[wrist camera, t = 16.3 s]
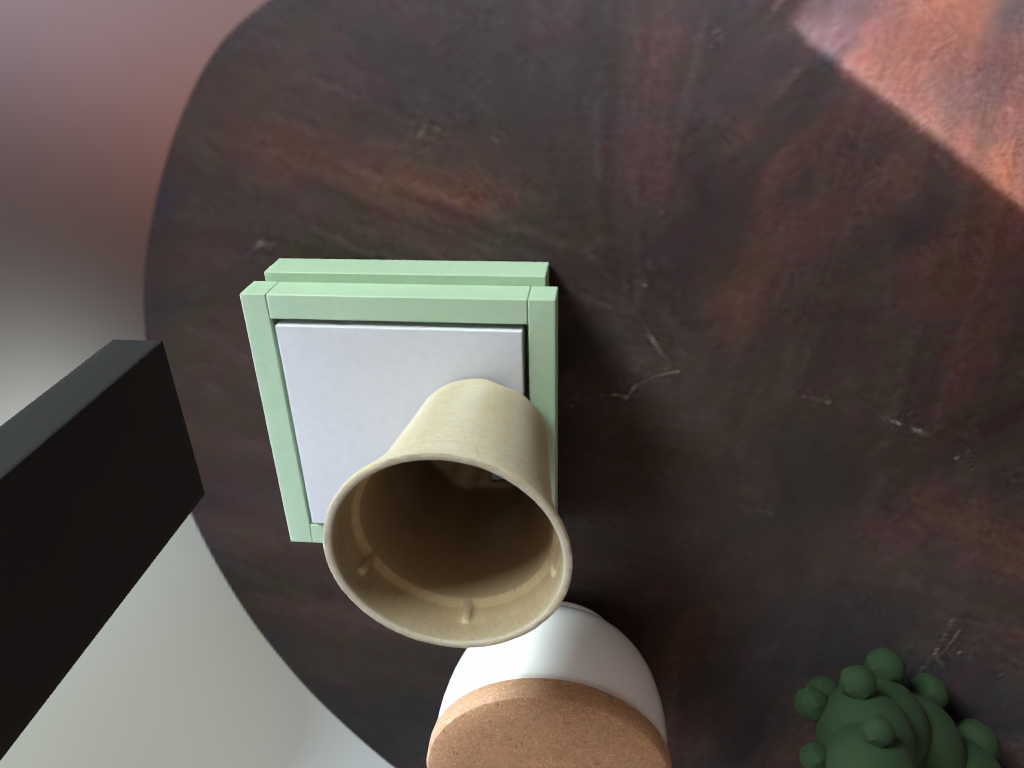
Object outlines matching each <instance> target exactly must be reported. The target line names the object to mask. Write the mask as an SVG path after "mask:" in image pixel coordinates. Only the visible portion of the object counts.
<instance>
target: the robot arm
mask: <svg viewBox="0 0 1024 768" xmlns="http://www.w3.org/2000/svg"><path fill="white" fill-rule="evenodd" d="M204 494H205V493H204V489H203V486H202V482H201V478H200V475H199V471H198V468H197V464H196V460H195V457H194V453H193V450H192V446H191V442H190V439H189V435H188V432H187V428H186V424H185V421H184V417H183V414H182V410H181V406H180V403H179V399H178V396H177V392H176V388H175V385H174V381H173V378H172V374H171V370H170V367H169V363H168V360H167V356H166V352H165V349H164V345H163V342H162V341H138V340H137V341H136V340H112V341H111V342H110V343H108V344H107V345H106V346H104V347H103V348H102V349H100V350H99V351H98V352H97V353H95V354H94V355H93V356H92V357H90V358H89V359H87V360H86V361H85V362H84V363H82V364H81V365H80V366H79V367H77V368H76V369H74V370H73V371H72V372H71V373H69V374H68V375H67V376H66V377H64V378H63V379H61V380H60V381H59V382H58V383H56V384H55V385H54V386H53V387H51V388H50V389H49V390H47V391H46V392H45V393H43V394H42V395H41V396H39V397H38V398H37V399H36V400H34V401H33V402H32V403H30V404H29V405H28V406H26V407H25V408H24V409H23V410H21V411H20V412H19V413H17V414H16V415H15V416H14V417H12V418H11V419H10V420H8V421H7V422H6V423H4V424H3V425H2V426H0V760H1V759H2V758H3V756H4V755H5V754H6V753H7V751H8V750H9V749H10V747H11V746H12V745H13V743H14V742H15V741H16V739H17V738H18V737H19V735H20V734H21V733H22V732H23V730H24V729H25V728H26V726H27V725H28V724H29V722H30V721H31V720H32V719H33V717H34V716H35V715H36V713H37V712H38V711H39V709H40V708H41V707H42V706H43V704H44V703H45V702H46V700H47V699H48V698H49V696H50V695H51V694H52V693H53V691H54V690H55V689H56V687H57V686H58V685H59V683H60V682H61V681H62V679H63V678H64V677H65V676H66V674H67V673H68V672H69V670H70V669H71V668H72V666H73V665H74V664H75V663H76V661H77V660H78V658H79V657H80V656H81V655H82V653H83V652H84V651H85V649H86V648H87V647H88V646H89V644H90V643H91V641H92V640H93V639H94V638H95V636H96V635H97V634H98V632H99V631H100V630H101V629H102V627H103V626H104V624H105V623H106V622H107V621H108V619H109V618H110V617H111V616H112V614H113V613H114V612H115V610H116V609H117V608H118V606H119V605H120V604H121V603H122V601H123V600H124V599H125V597H126V596H127V595H128V593H129V592H130V591H131V589H132V588H133V587H134V586H135V584H136V583H137V582H138V580H139V579H140V578H141V576H142V575H143V574H144V572H145V571H146V570H147V568H148V567H149V566H150V565H151V563H152V562H153V561H154V559H155V558H156V557H157V555H158V554H159V553H160V552H161V550H162V549H163V547H164V546H165V545H166V544H167V543H168V541H169V540H170V538H171V537H172V536H173V535H174V533H175V532H176V531H177V529H178V528H179V527H180V526H181V524H182V523H183V522H184V520H185V519H186V518H187V516H188V515H189V514H190V513H191V511H192V510H193V509H194V507H195V506H196V505H197V503H198V502H199V501H200V499H201V498H202V497H203V496H204Z"/></svg>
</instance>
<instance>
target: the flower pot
mask: <svg viewBox="0 0 1024 768" xmlns="http://www.w3.org/2000/svg"><path fill="white" fill-rule="evenodd" d="M492 474H496V475H498V476H500V477H502V478H504V479H499V480H492V479H491V475H492ZM323 546H324V553H325V555H326V560H327V563H328V565H329V567H330V570H331V572H332V574H333V576H334V579H335V580H336V581H337V583H338V584H339V586H340V587H341V589H342V591H344V592H345V594H347V595H348V597H349V598H350V599H351V600H352V601H353V602H354V603H355V604H356V605H357V606H358V607H359V608H360V609H361V610H363V611H364V612H365V613H367V615H369V616H370V617H372V618H373V619H374V620H376V621H377V622H378V623H381V624H383V625H384V626H386V627H387V628H389V629H391V630H394V631H396V632H397V633H400V634H402V635H405V636H407V637H409V638H412V639H415V640H419V641H422V642H427V643H431V644H436V645H441V646H449V647H458V648H460V647H461V648H470V647H473V648H476V647H486V646H492V645H498V644H502V643H504V642H507V641H510V640H513V639H516V638H518V637H521V636H523V635H525V634H527V633H529V632H531V631H533V630H534V629H536V628H537V627H538V626H539V625H540V624H542V623H543V622H544V621H546V620H547V619H548V618H549V617H550V616H552V615H553V614H554V612H555V611H556V610H557V609H558V608H559V606H560V605H561V603H562V601H563V599H564V598H565V596H566V593H567V591H568V588H569V585H570V582H571V576H572V569H573V565H572V551H571V545H570V541H569V537H568V534H567V531H566V529H565V526H564V524H563V522H562V520H561V518H560V517H559V515H558V514H557V512H556V509H555V506H554V504H553V502H552V491H551V480H550V468H549V455H548V437H547V430H546V427H545V424H544V421H543V419H542V417H541V415H540V413H539V412H538V410H537V409H536V408H535V406H534V405H533V404H532V403H531V402H530V401H529V400H528V399H527V398H526V397H525V396H524V395H523V394H522V393H520V392H519V391H516V390H513V389H510V388H507V387H505V386H502V385H499V384H497V383H494V382H492V381H489V380H487V379H464V380H459V381H455V382H452V383H449V384H447V385H445V386H443V387H441V388H440V389H438V390H437V391H435V392H434V393H433V394H432V395H430V396H429V397H428V398H427V400H426V401H425V402H424V403H423V405H422V406H421V408H420V409H419V411H418V412H417V414H416V415H415V416H414V418H413V419H412V420H411V422H410V423H409V424H408V426H407V427H406V428H405V429H404V431H403V432H402V433H401V435H400V436H399V437H398V439H397V440H396V441H395V442H394V444H393V445H392V446H391V448H390V449H389V450H388V451H387V453H386V454H385V455H383V456H381V457H380V458H378V459H377V460H376V461H374V462H372V463H370V464H368V465H366V466H365V467H363V468H362V469H360V470H359V471H358V472H356V473H355V474H354V475H353V476H351V477H350V478H349V479H348V480H347V481H346V482H345V483H344V484H343V486H342V487H341V488H340V489H339V490H338V492H337V493H336V495H335V496H334V498H333V499H332V501H331V503H330V506H329V508H328V511H327V514H326V518H325V521H324V527H323Z"/></svg>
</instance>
